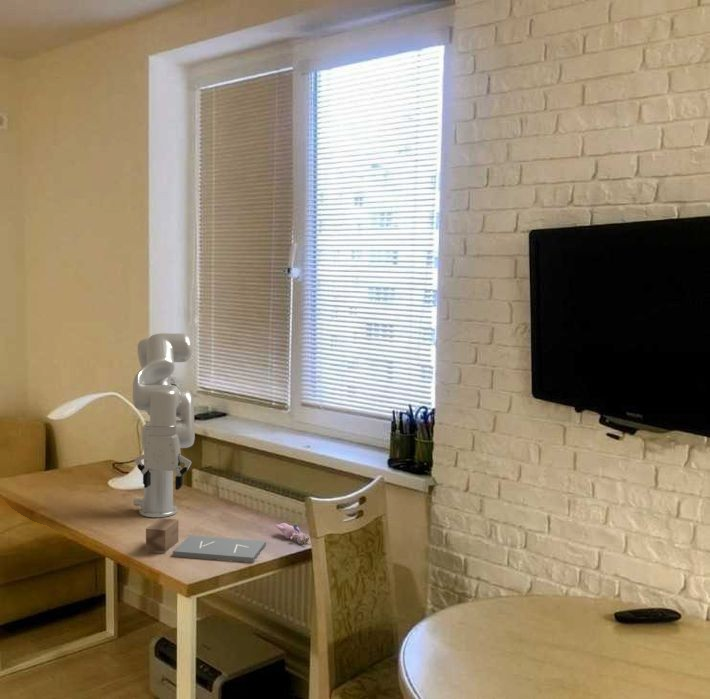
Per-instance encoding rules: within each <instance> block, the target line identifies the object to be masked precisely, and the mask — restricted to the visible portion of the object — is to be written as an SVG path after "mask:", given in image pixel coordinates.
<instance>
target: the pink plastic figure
mask: <svg viewBox="0 0 710 699" xmlns="http://www.w3.org/2000/svg"><path fill="white" fill-rule="evenodd" d="M298 525H299V524H298V523H294V524H293V525H289V524H288V523H286V522H282V523H278V524H275V525H274V527H277V529H278V530H279V531H281V533H282V534H283V537H284V538H285V539H289V538H290V539H289V540H292V538H293V539H294V541H295V540H296V541H297V544H298V545H303V546H305V545H307V543H308V542H309V541H310V540H309V538H310V537H307V535H306V533H303V532H301V529H300V528H299V526H298ZM303 542H304V543H303ZM309 544H310V545H311V543H310V542H309Z"/></svg>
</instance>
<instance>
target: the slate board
mask: <svg viewBox="0 0 710 699" xmlns="http://www.w3.org/2000/svg"><path fill="white" fill-rule="evenodd" d="M265 546H267V541H266V540H253V539H239V538H229V537H216V536H200V535H188V537H187V538H185V539H184V540H183V541H182V542H181V543H180V544H179V545H178V546H176V548H174V550H173V551H172V557H179V558H189V559H200V560H201V559H204V560H213V559H219V560H218V561H225V560H227V562H229V561H228V560H232V561H231V562H238V561H247V562H246V563H250V562H253V563H254V562H255V561H256V560H255V559H258V557H259V556H258V555H260V554H261V553H262V552H263V551H262V550H264V549H265V548H266V547H265ZM264 547H265V548H264ZM261 551H262V552H261ZM260 552H261V553H260ZM257 556H258V557H257Z"/></svg>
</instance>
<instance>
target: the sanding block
mask: <svg viewBox="0 0 710 699" xmlns="http://www.w3.org/2000/svg"><path fill="white" fill-rule="evenodd" d="M178 543H179V519H171V518H163V517H159V518H158V519H157V520H155V521H154V522H153V523H152V524H150V525H149V526H147V527H146V528H145V552H146V551H149V552H148V553H158V554H159V553H161V554H166V553H168V551H170V550H169V549H170V548H171V549H172V548H174V546H175V545H176V544H178Z"/></svg>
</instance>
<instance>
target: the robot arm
mask: <svg viewBox="0 0 710 699" xmlns="http://www.w3.org/2000/svg"><path fill="white" fill-rule="evenodd" d="M189 336H190V335H188V334H185V333H165V332H164V333H154V334H152V335H150V336H149V337H147V338H143V339H141V340H140V341H139V342H138V344H137V356H138V361H139V364H140V367H141V368H140V369H139V370H138V372H137V373H136V374H135V375H134V378H133V381H132V402H133V405H134V407H135V409H137V410H139V411H146V413H147V415H148V416H149V421H148V422H146V423H144V425H143V426H142V428H141V441H142V448H143V454H142V455H140V456H138V457H135V458H134V462H135V465H137V466H136V468H137V469H138V470H139V471H140V473H141V475H142V484H143V488H144V489H143V490H144V492H143V493H144V495H143V496H144V497H143V498H133V505H134V506H136V507H139V506H140V508H139V514H140V515H141V516H143V517H147V518H166V517H170V516H173V515H175V514H177V513H178V506H176V505H175V504H174V485H175V490H176V491H178V490H180V489H181V488H182V486H183V484H184V482H183V481H184V476H183V475H185V473H186V472H188V471H189V468H190V466H191V465H192V463H193V462H192V461H191V460H190V459H189V458H187V457H185V456H184V455H182V453H181V452H182V451H181V449H187V448H188V449H189V448H191V447H192V446H194V443H195V440H196V436H195V435H196V431H195V426H196V425H195V405H194V397H193V394H192V393H191V391H190V390H188V389H180V388H179V386H177V385H174V384H172V383H171V382H172V378H171V376H172V375H173V373H174V371H175V363H186V362H187V361H189V359H190V358H191V356H192V352H193V345H192V340H191V338H190V337H189ZM177 418H179V420H177ZM142 460H143V463H142ZM182 463H184V466H183V468H182V467H181V464H182ZM174 473H175V475H176V476H175V481H174ZM174 483H175V484H174Z"/></svg>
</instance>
